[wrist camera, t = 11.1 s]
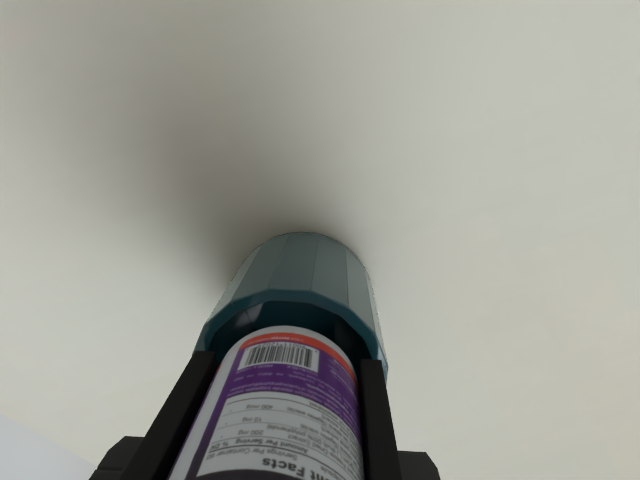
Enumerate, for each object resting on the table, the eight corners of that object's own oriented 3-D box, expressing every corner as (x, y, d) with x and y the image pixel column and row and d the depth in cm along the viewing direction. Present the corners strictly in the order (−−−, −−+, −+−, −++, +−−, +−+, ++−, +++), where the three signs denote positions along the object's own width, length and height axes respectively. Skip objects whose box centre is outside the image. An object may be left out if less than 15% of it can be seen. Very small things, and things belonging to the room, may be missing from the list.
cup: (233, 228, 21) (184, 284, 14) (376, 234, 20) (395, 294, 14) (239, 350, 23) (199, 448, 16) (366, 357, 23) (379, 458, 16)
